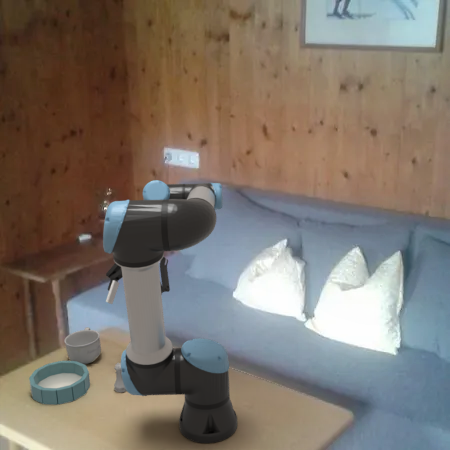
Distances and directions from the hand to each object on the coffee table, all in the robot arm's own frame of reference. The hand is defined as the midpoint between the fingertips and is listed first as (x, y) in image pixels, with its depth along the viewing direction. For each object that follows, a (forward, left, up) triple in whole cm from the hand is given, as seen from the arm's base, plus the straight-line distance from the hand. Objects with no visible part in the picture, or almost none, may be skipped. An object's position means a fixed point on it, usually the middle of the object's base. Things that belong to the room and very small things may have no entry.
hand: (128, 308), depth 189 cm
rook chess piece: (0, +5, -24) cm, 24 cm away
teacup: (+23, -2, -24) cm, 33 cm away
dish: (+15, +15, -24) cm, 32 cm away
